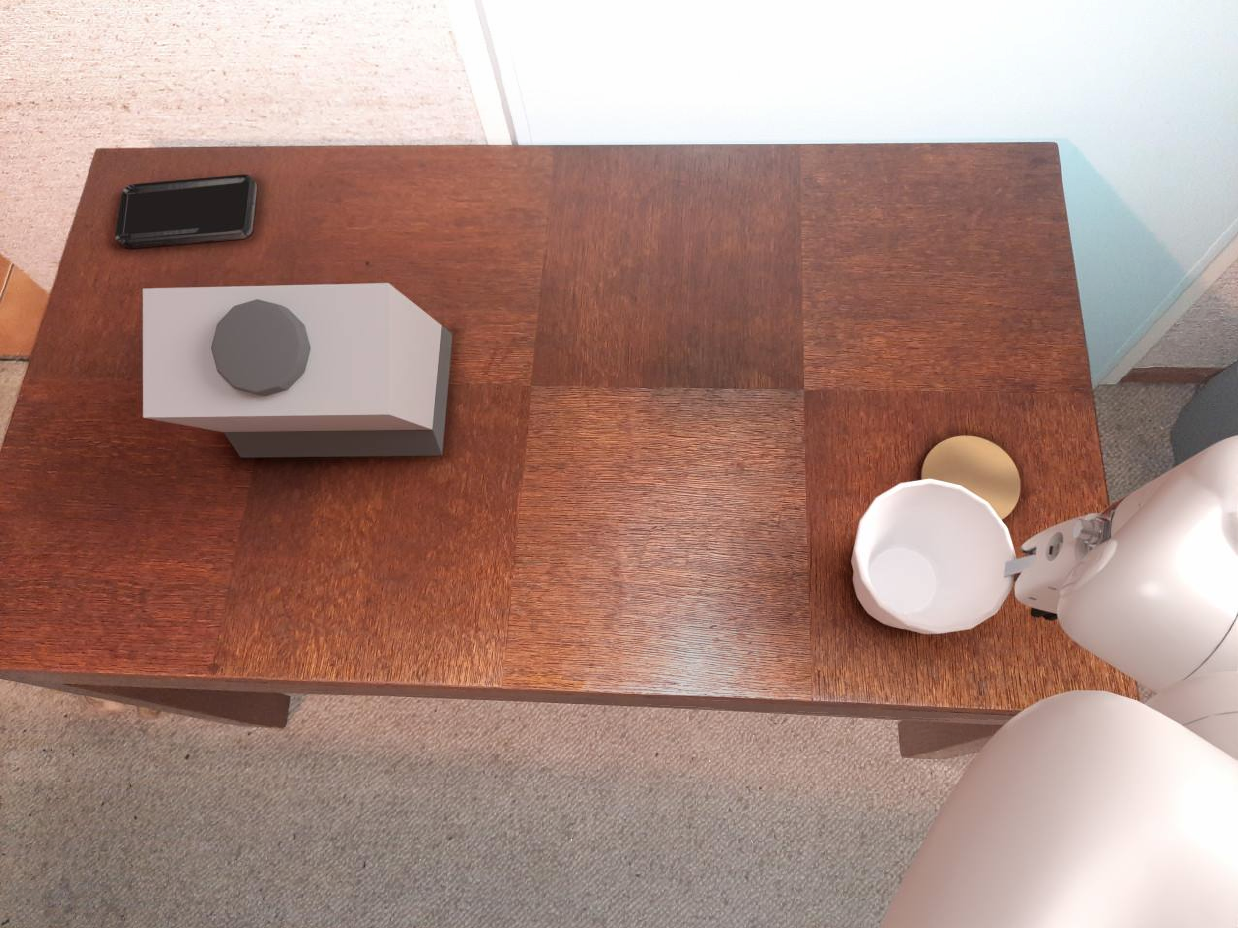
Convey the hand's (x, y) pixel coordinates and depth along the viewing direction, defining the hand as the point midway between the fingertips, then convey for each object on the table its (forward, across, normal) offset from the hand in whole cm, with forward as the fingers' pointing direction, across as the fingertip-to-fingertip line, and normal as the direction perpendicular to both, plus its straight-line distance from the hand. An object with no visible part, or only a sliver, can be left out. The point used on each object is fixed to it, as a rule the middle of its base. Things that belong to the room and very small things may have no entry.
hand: (1042, 600), depth 72 cm
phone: (+4, -93, +22) cm, 96 cm away
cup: (+4, -11, 0) cm, 12 cm away
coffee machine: (+4, -67, +4) cm, 67 cm away
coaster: (+4, -6, +11) cm, 13 cm away
